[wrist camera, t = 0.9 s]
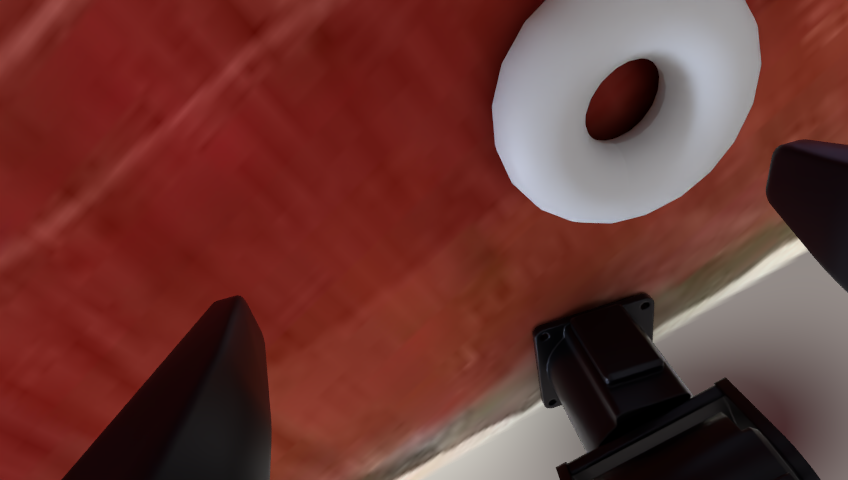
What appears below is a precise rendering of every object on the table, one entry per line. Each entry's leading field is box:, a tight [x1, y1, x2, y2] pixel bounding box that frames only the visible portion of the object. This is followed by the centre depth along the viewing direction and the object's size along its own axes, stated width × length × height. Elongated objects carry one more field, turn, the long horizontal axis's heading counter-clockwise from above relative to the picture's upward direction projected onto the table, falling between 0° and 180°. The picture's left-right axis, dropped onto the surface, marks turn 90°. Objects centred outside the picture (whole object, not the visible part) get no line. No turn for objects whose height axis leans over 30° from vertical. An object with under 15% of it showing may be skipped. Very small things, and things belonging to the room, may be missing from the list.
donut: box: [492, 0, 761, 223], centre depth 20 cm, size 10×4×10 cm
